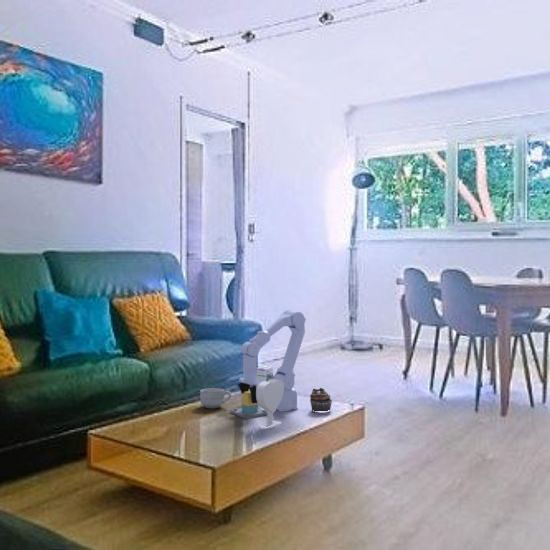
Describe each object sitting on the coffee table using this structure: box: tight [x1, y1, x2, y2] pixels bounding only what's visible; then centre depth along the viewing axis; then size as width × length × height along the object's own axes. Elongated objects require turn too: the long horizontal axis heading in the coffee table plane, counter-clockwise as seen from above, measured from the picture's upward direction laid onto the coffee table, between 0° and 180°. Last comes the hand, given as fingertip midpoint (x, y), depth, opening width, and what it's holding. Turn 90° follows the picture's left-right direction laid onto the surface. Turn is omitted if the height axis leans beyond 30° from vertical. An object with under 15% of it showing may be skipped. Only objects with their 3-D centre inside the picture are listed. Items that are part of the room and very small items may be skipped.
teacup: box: [199, 387, 232, 409], centre depth 277 cm, size 14×11×8 cm
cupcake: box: [309, 387, 333, 411], centre depth 272 cm, size 10×10×10 cm
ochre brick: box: [241, 390, 259, 406], centre depth 266 cm, size 5×5×5 cm
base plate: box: [230, 403, 267, 420], centre depth 267 cm, size 12×12×5 cm
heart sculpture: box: [256, 379, 284, 427], centre depth 250 cm, size 16×5×18 cm, turn 148°
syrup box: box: [257, 365, 274, 383], centre depth 298 cm, size 6×6×14 cm
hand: (249, 401), depth 266 cm, fingers open, 7 cm apart
